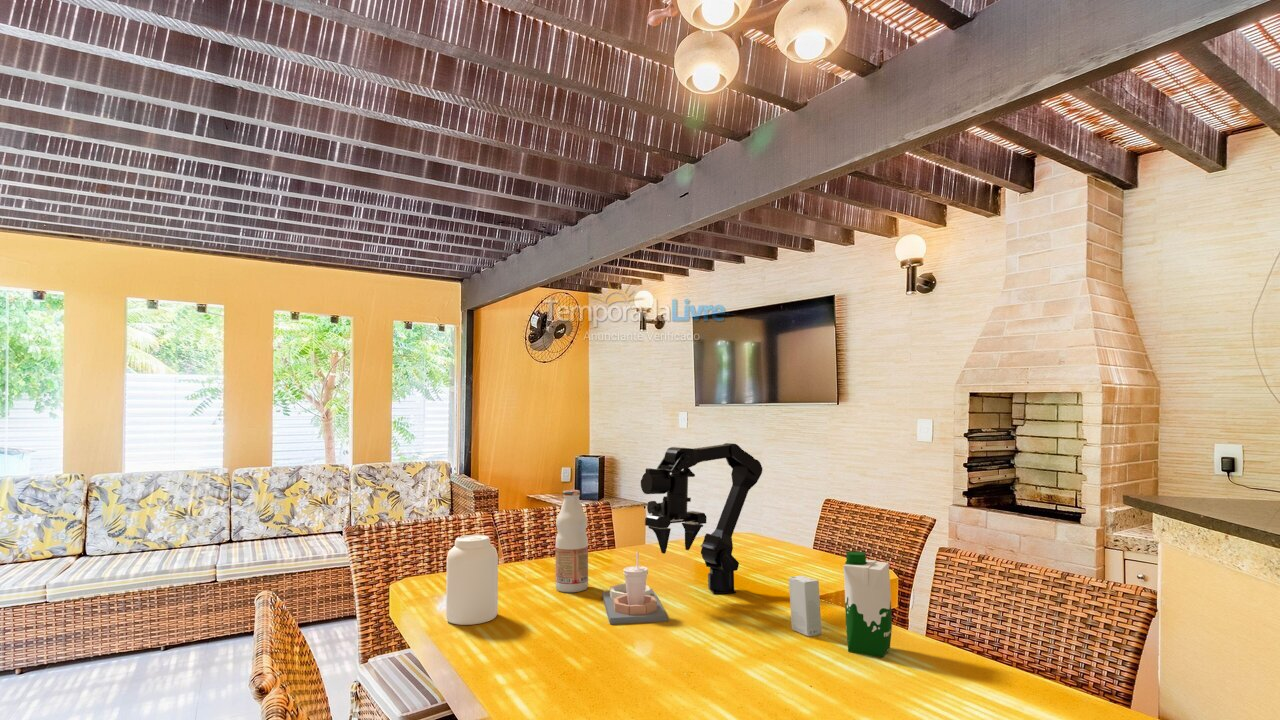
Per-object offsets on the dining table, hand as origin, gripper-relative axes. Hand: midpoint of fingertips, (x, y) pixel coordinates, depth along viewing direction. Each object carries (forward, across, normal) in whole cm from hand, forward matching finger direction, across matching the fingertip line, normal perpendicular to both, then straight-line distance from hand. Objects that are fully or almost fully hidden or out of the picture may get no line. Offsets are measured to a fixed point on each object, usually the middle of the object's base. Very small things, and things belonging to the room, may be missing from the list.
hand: (675, 551), depth 181 cm
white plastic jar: (+16, +47, -24) cm, 55 cm away
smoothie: (+12, +16, +2) cm, 20 cm away
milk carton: (+12, -3, +55) cm, 56 cm away
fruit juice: (+14, +13, -29) cm, 35 cm away
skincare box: (+12, -3, +39) cm, 41 cm away
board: (+14, +13, -2) cm, 19 cm away
